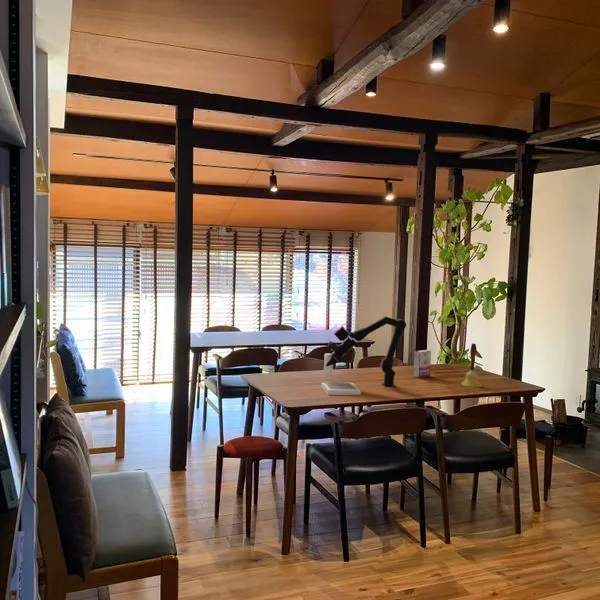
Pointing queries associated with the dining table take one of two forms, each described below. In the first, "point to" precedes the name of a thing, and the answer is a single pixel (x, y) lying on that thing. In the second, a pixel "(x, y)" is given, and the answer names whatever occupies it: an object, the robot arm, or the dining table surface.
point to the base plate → (340, 389)
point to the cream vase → (327, 369)
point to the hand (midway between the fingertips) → (326, 365)
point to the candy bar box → (422, 363)
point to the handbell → (472, 371)
